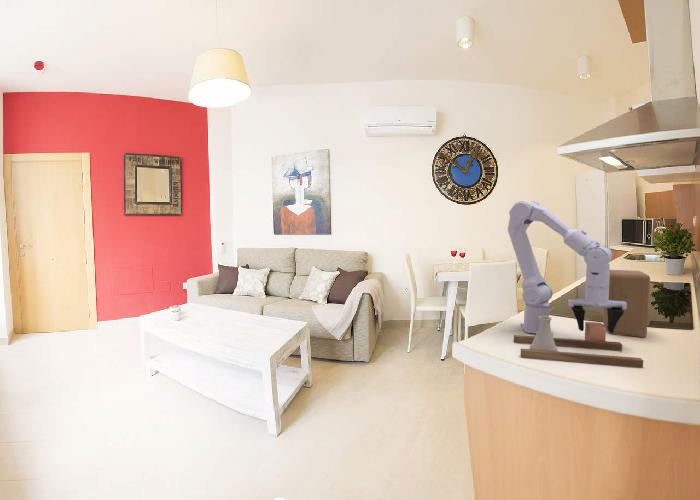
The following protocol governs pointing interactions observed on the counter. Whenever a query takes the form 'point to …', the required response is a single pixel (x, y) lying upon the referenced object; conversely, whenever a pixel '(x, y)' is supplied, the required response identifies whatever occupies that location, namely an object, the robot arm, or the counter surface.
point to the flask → (544, 336)
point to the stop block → (595, 331)
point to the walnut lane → (579, 356)
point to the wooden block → (630, 301)
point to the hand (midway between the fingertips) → (595, 330)
